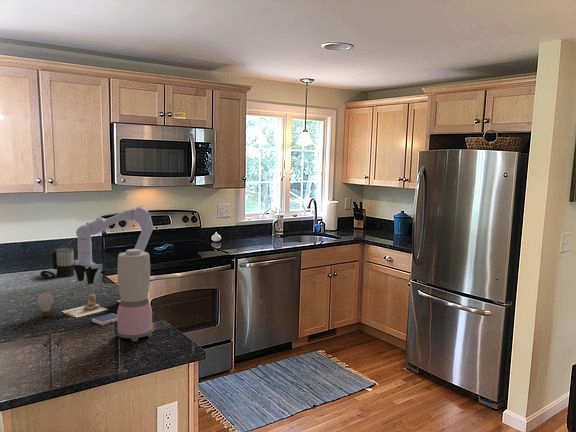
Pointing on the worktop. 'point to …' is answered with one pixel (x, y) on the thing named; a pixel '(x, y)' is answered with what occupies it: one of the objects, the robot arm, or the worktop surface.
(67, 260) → the milk frother
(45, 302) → the light bulb
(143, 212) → the robot arm
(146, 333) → the blender
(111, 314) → the ink pad
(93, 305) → the stamp
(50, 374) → the worktop surface
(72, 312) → the card sheet
